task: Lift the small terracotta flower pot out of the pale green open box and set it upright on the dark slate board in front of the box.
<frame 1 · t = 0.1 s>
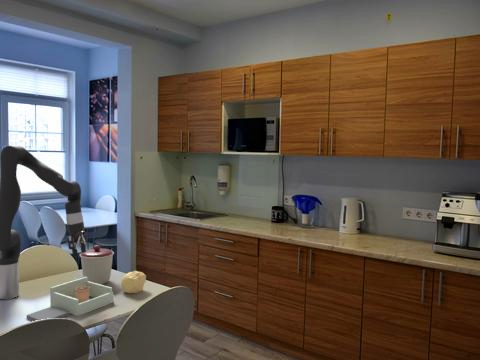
hand: (79, 254, 196), 22 cm above the table, tool pointing down, fingers open, 8 cm apart
pale green open box: (82, 304, 192), on the table
slate board: (47, 316, 177), on the table
terracotta pot: (82, 296, 192), in the pale green open box
canister: (97, 282, 224), on the table
sculpture: (133, 291, 211), on the table
bread roll: (62, 296, 203), on the table
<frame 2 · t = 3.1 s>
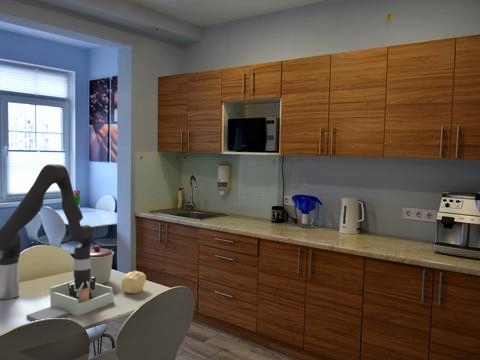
hand: (82, 301, 192), 1 cm above the table, tool pointing down, fingers closed on terracotta pot, 6 cm apart
terracotta pot: (82, 295, 192), in the pale green open box, touching gripper
everything else where it was.
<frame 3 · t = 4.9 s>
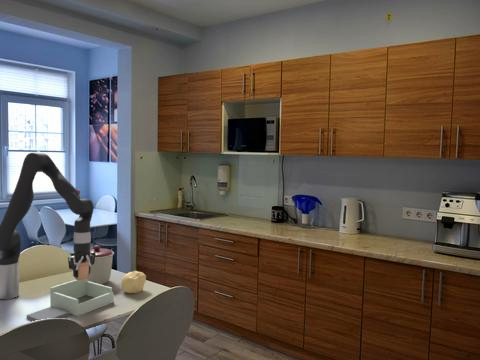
hand: (81, 275, 191), 14 cm above the table, tool pointing down, fingers closed on terracotta pot, 6 cm apart
terracotta pot: (82, 269, 191), point 17 cm above the table, touching gripper
everything else where it was.
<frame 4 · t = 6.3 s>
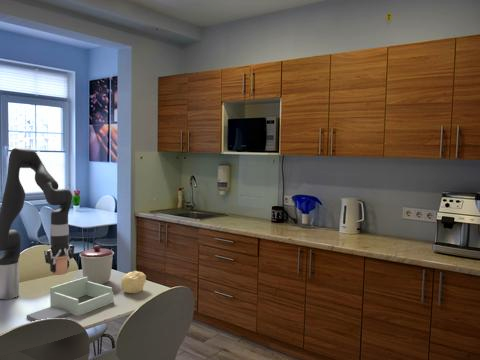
hand: (59, 270, 181), 19 cm above the table, tool pointing down, fingers closed on terracotta pot, 6 cm apart
terracotta pot: (60, 264, 181), point 22 cm above the table, touching gripper
everything else where it was.
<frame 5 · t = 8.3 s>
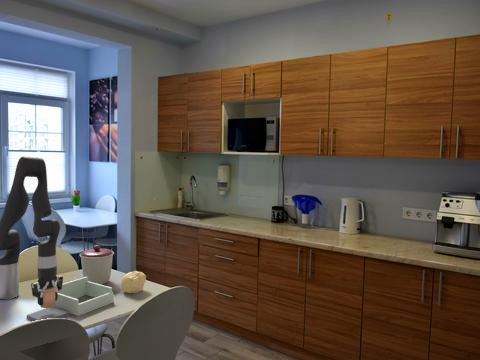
hand: (47, 302, 176), 6 cm above the table, tool pointing down, fingers closed on terracotta pot, 6 cm apart
terracotta pot: (47, 296, 176), point 9 cm above the table, touching gripper
everything else where it was.
when the fingers open (4 cm above the table, at t = 9.6 s): terracotta pot drops 1 cm, resting on slate board.
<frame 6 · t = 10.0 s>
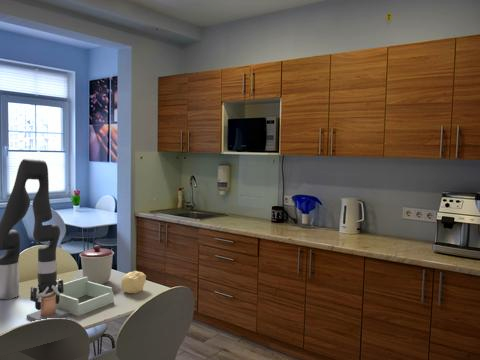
hand: (47, 306, 176), 5 cm above the table, tool pointing down, fingers open, 8 cm apart
terracotta pot: (48, 304, 177), on the slate board, point 6 cm above the table
everything else where it was.
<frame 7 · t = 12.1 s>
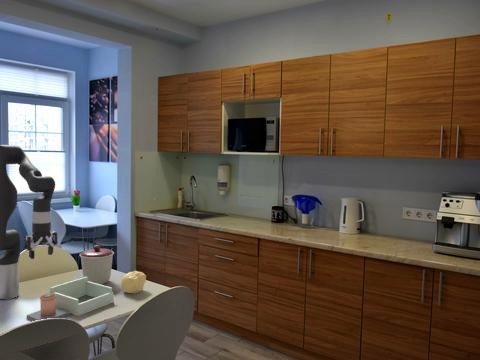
hand: (41, 256, 180), 25 cm above the table, tool pointing down, fingers open, 8 cm apart
nothing on the table moved.
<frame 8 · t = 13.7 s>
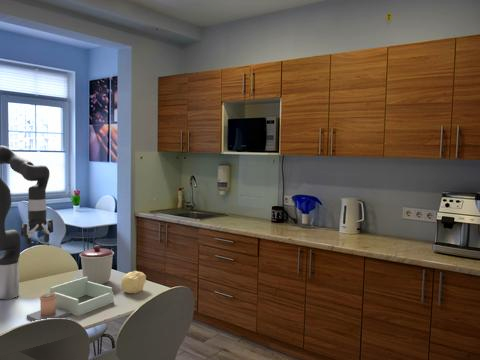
hand: (37, 243, 185), 30 cm above the table, tool pointing down, fingers open, 8 cm apart
nothing on the table moved.
at the end: terracotta pot inside the target area on the slate board (0.2 cm from its centre), point 5.5 cm above the slate board's base; terracotta pot tilted 0°; the gripper is holding nothing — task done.
